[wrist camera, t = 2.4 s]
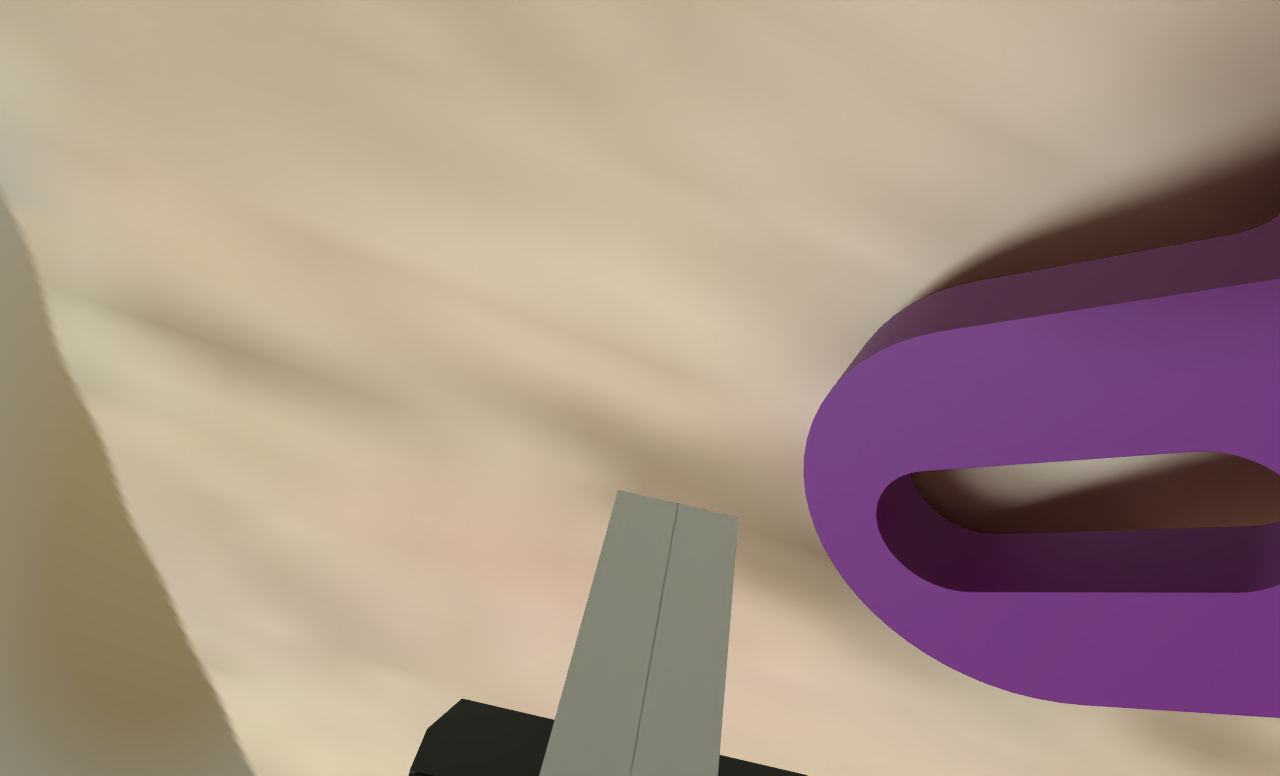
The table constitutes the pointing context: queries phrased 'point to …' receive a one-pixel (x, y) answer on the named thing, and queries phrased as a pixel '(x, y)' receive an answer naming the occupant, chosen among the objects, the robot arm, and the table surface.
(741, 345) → the table surface
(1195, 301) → the mounting bracket
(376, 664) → the table surface
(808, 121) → the table surface
